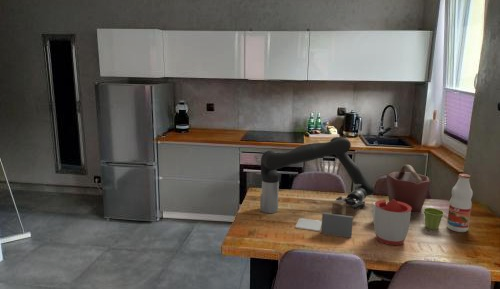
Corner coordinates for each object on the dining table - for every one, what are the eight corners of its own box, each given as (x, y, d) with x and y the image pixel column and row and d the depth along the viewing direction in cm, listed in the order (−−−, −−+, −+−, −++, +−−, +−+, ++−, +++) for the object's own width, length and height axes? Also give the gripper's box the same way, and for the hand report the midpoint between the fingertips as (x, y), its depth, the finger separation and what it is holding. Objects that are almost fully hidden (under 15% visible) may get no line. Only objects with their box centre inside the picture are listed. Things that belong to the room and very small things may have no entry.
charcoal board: (321, 233, 176) (322, 213, 175) (321, 232, 178) (322, 212, 176) (351, 237, 172) (352, 217, 170) (351, 236, 174) (353, 216, 172)
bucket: (427, 218, 197) (432, 173, 193) (383, 212, 205) (388, 168, 200) (423, 203, 220) (428, 162, 215) (384, 198, 227) (387, 159, 223)
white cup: (388, 226, 186) (390, 207, 184) (372, 224, 188) (374, 206, 186) (386, 220, 194) (388, 202, 192) (370, 219, 195) (372, 201, 193)
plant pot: (440, 225, 189) (442, 209, 187) (443, 232, 180) (445, 215, 178) (420, 222, 192) (422, 206, 190) (422, 229, 183) (424, 213, 181)
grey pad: (295, 227, 182) (295, 226, 182) (299, 218, 193) (299, 217, 193) (319, 231, 178) (319, 230, 178) (322, 222, 190) (322, 221, 190)
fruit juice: (471, 229, 184) (479, 175, 179) (462, 234, 179) (470, 178, 173) (451, 223, 191) (458, 171, 186) (443, 227, 186) (450, 174, 180)
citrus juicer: (404, 233, 178) (408, 194, 174) (411, 249, 162) (415, 206, 158) (370, 229, 182) (373, 191, 178) (373, 245, 165) (377, 203, 161)
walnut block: (330, 229, 181) (332, 202, 178) (334, 226, 185) (336, 199, 182) (340, 232, 178) (342, 204, 176) (344, 228, 182) (346, 201, 180)
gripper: (343, 189, 205) (333, 196, 192) (369, 194, 198) (360, 202, 184) (342, 201, 207) (332, 210, 193) (368, 207, 199) (359, 216, 186)
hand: (345, 206), depth 189 cm, fingers open, 8 cm apart
